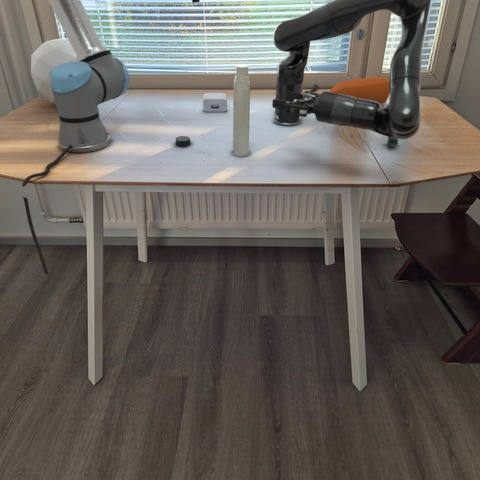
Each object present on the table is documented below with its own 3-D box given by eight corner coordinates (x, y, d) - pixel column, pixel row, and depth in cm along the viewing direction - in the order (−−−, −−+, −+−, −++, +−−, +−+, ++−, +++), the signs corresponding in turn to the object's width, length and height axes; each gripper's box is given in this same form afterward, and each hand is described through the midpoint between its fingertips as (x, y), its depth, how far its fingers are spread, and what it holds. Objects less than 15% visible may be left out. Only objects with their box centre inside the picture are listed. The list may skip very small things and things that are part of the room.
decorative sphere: (41, 71, 170) (18, 23, 146) (103, 69, 174) (90, 22, 151) (41, 120, 163) (17, 77, 140) (106, 117, 167) (93, 75, 144)
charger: (226, 100, 170) (227, 111, 158) (204, 100, 170) (203, 111, 158) (226, 88, 168) (226, 99, 155) (204, 88, 167) (202, 99, 155)
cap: (185, 140, 133) (184, 134, 132) (193, 144, 130) (192, 139, 129) (173, 143, 130) (172, 138, 129) (180, 148, 127) (180, 142, 126)
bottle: (251, 153, 125) (254, 65, 110) (240, 157, 122) (241, 68, 108) (241, 149, 127) (242, 63, 113) (229, 153, 125) (229, 65, 110)
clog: (332, 114, 163) (392, 106, 164) (333, 87, 157) (396, 78, 158) (323, 105, 173) (381, 98, 174) (324, 79, 167) (383, 71, 167)
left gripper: (112, -104, 96) (125, -1, 109) (206, -108, 89) (209, 4, 101) (130, -100, 102) (141, -2, 114) (220, -104, 94) (221, 2, 107)
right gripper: (348, 87, 106) (291, 78, 113) (330, 101, 96) (269, 90, 102) (343, 116, 111) (289, 106, 117) (325, 132, 100) (267, 120, 107)
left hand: (173, 1), depth 108 cm, fingers open, 13 cm apart
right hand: (279, 99), depth 110 cm, fingers open, 8 cm apart
